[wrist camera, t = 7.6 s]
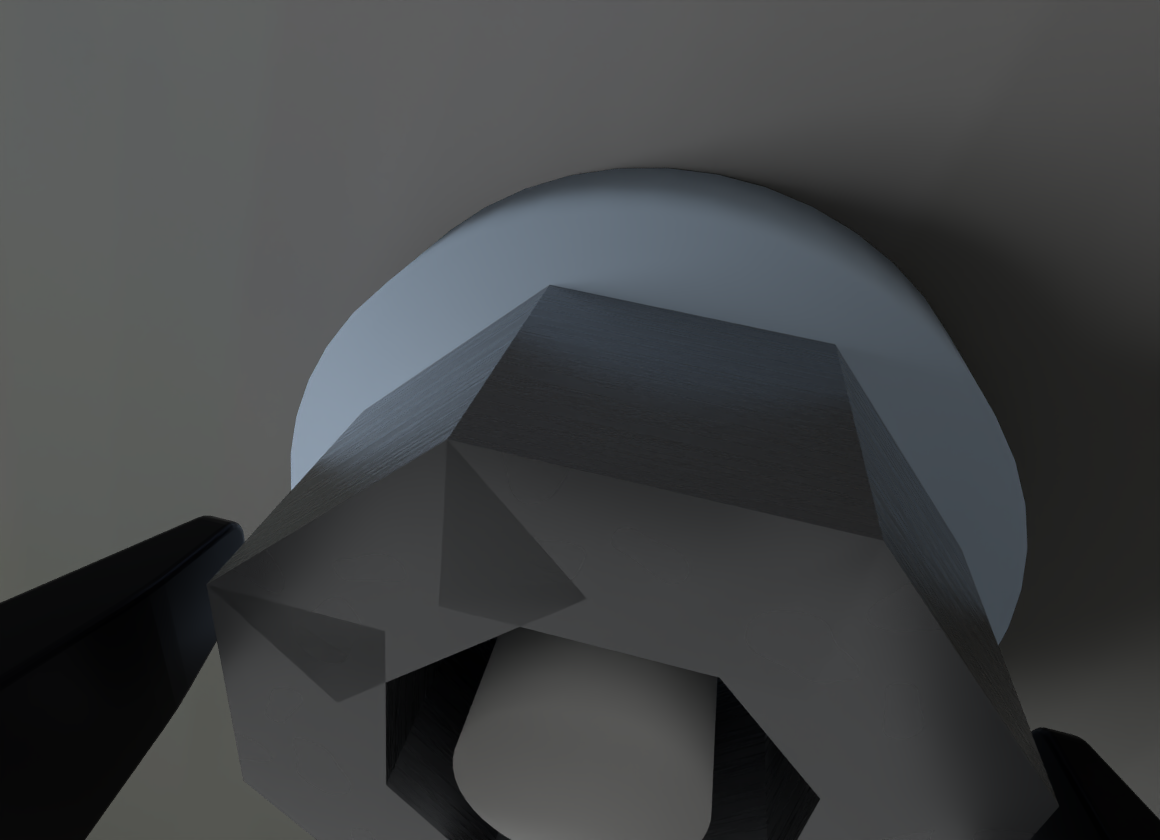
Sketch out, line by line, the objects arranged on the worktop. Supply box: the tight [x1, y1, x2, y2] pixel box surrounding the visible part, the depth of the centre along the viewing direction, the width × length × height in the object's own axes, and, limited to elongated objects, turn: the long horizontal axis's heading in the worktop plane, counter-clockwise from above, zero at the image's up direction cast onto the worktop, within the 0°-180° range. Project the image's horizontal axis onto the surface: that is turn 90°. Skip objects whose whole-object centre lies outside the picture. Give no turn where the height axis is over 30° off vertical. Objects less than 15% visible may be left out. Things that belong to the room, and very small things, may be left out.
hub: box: [291, 168, 1027, 840], centre depth 9 cm, size 9×9×5 cm
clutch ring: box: [206, 285, 1059, 840], centre depth 8 cm, size 7×7×3 cm
